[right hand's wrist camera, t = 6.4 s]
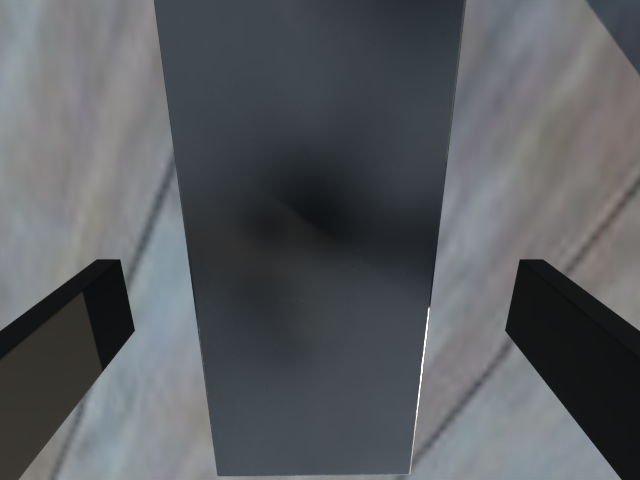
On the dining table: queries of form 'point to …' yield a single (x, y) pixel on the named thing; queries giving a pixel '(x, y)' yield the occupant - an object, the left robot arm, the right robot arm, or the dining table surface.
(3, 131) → the dining table surface
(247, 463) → the bar
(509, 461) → the dining table surface
